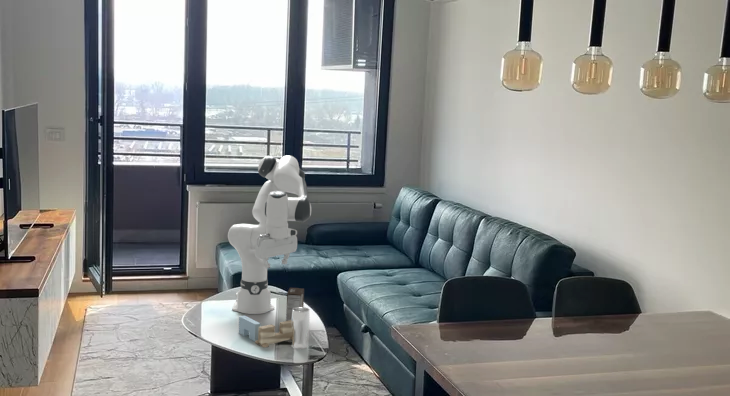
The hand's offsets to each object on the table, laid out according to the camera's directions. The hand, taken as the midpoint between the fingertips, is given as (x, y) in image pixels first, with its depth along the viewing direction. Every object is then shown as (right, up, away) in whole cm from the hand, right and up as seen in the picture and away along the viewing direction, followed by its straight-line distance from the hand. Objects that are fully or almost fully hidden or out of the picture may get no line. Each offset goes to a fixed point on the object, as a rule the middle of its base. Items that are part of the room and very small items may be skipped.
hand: (275, 265), depth 278 cm
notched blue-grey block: (-10, -28, -2) cm, 30 cm away
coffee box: (+6, -27, +12) cm, 30 cm away
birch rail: (+1, -29, -6) cm, 30 cm away
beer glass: (+10, -31, -11) cm, 34 cm away
